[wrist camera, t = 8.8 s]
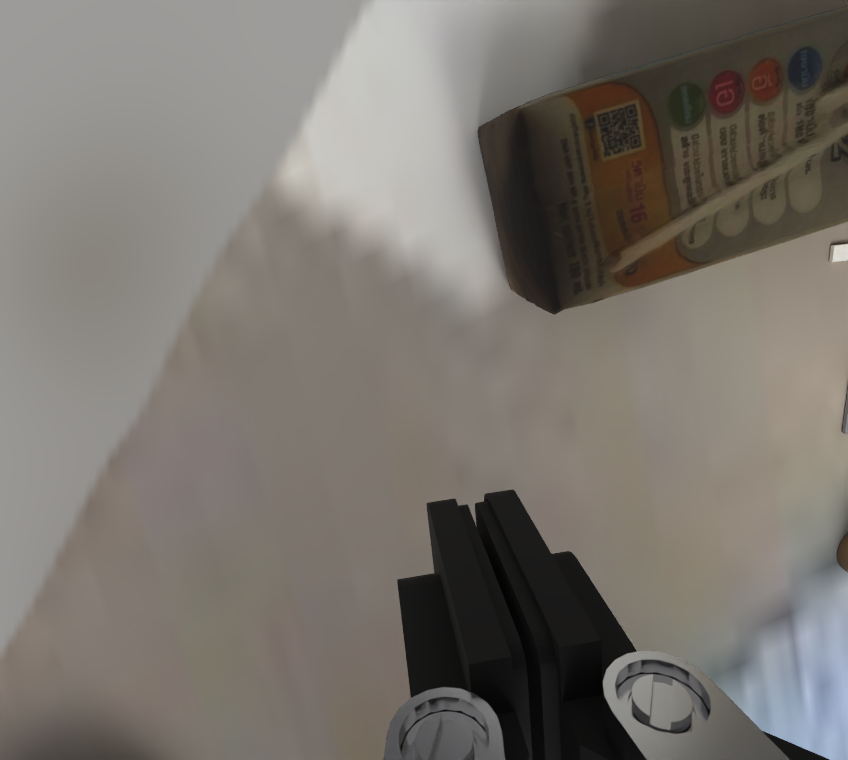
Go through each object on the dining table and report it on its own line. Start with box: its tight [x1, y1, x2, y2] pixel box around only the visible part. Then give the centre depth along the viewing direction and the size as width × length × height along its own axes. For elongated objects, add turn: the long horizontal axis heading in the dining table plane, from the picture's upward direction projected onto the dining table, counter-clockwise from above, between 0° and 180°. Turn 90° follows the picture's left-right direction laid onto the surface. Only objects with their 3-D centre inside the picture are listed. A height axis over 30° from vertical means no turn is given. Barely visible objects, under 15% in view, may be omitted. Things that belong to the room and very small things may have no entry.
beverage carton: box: [478, 6, 848, 314], centre depth 23 cm, size 8×19×7 cm, turn 106°
